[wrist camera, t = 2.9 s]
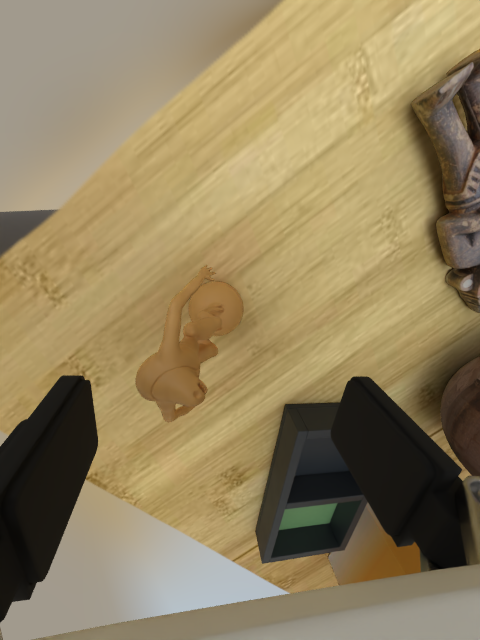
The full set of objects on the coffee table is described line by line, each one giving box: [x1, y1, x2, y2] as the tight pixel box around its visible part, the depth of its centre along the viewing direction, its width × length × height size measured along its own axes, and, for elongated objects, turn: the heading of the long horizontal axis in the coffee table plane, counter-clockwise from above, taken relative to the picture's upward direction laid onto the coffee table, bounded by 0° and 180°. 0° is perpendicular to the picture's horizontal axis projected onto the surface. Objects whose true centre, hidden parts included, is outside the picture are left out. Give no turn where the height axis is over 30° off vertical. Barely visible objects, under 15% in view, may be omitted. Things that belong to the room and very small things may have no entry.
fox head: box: [328, 503, 421, 585], centre depth 33 cm, size 18×21×20 cm
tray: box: [255, 403, 368, 564], centre depth 31 cm, size 12×22×4 cm, turn 173°
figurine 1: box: [136, 265, 243, 422], centre depth 15 cm, size 8×6×12 cm
